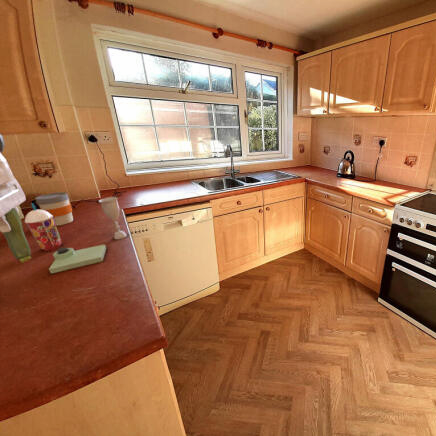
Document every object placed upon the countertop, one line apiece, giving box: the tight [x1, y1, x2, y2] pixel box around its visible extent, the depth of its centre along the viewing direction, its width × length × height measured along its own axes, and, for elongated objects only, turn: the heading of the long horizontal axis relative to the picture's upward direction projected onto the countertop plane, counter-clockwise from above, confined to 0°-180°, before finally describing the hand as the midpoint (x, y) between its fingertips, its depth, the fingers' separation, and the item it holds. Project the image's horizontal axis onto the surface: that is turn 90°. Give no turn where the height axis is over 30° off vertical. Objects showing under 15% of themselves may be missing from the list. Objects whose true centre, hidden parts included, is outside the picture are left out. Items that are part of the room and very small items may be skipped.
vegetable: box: [2, 208, 32, 264], centre depth 65 cm, size 4×4×20 cm
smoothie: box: [24, 202, 63, 252], centre depth 101 cm, size 8×8×20 cm
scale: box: [48, 243, 107, 274], centre depth 93 cm, size 15×12×4 cm
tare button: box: [56, 246, 69, 254], centre depth 93 cm, size 3×3×2 cm
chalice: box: [98, 196, 127, 240], centre depth 109 cm, size 7×7×18 cm
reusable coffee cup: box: [35, 191, 74, 227], centre depth 129 cm, size 13×13×15 cm
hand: (11, 227), depth 65 cm, fingers closed on vegetable, 4 cm apart
